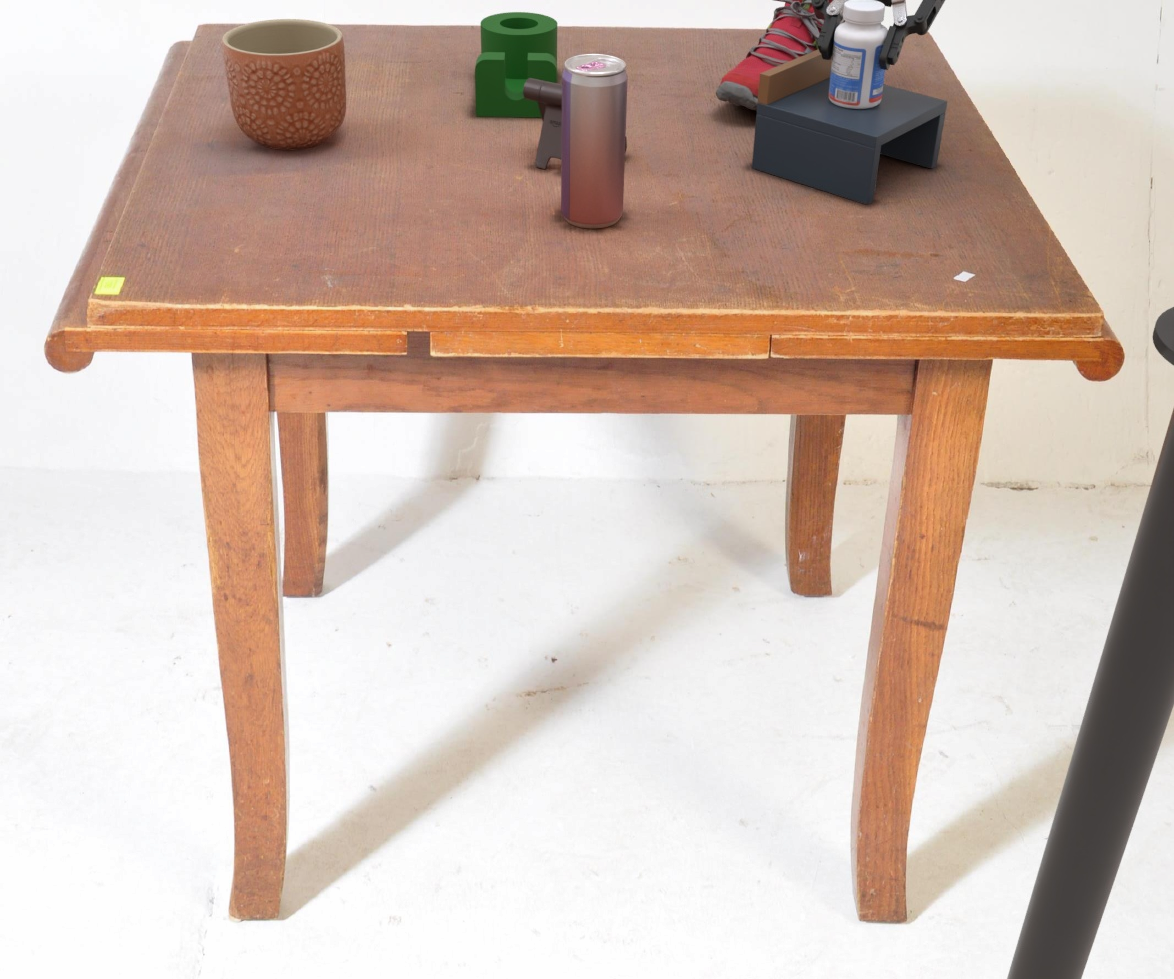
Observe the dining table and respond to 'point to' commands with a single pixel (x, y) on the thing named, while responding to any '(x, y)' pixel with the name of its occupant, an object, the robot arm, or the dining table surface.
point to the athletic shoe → (773, 51)
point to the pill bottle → (858, 56)
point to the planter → (286, 81)
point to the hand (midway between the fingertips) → (854, 60)
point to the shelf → (838, 130)
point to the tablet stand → (548, 118)
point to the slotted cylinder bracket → (513, 62)
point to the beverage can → (593, 140)
